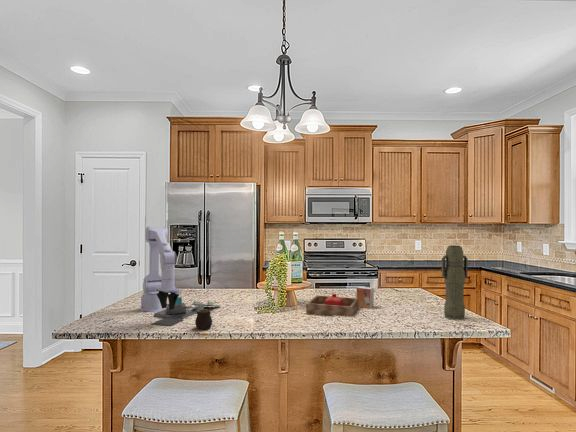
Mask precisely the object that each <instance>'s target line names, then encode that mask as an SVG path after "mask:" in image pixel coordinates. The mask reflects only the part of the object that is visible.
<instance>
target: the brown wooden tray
mask: <svg viewBox="0 0 576 432" xmlns="http://www.w3.org/2000/svg"><path fill="white" fill-rule="evenodd" d="M331 296H332V295H331ZM331 296H328V295H316V296H314V297H313V298H312V299H310V300H308V302H306V303H305V313H306V314H307V315H319V316H327V315H328V316H329V317H334V316H343V317H353V316H354V314H355V312H357V310H359V308H360V307H359V298H356V297H344V296H342V297H341V296H339V297H340V298H342V299H343V301H344V306H337V305H324V303H325V300H326V298H328V297H331Z"/></svg>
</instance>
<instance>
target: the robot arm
mask: <svg viewBox="0 0 576 432" xmlns="http://www.w3.org/2000/svg"><path fill="white" fill-rule="evenodd" d="M168 233H169V232H168V228H167V226H165V225H164V226H147V227H145V235H144V237H145V242H146V243H148V244H149V245H148V246H149V256H148V257H149V259H148V260H149V261H148V263H149V267H148V268H149V271H148V272H149V273H148V274H147V275H146V276H144V278H143V283H142V291H143V293H142V294H141V297H140V310H139V311H140V312H149V313H150V312H151V313H157V312H160V311H162V310H165V308H166V306H167V304H169V309H170V310H172V309H174V306H175V303H176V300H177V298H178V297H180V295H181V294H182V289H180V288H177V287H176V286H175V276H176V274H175V271H176V270H175V267H176V266H175V265H176V264H177V258H178V257H177V253H176V251H174V250H172V246H171V244H170V243H169V242H167V238H168V235H169V234H168ZM160 269H161V274H160ZM167 302H168V303H167Z"/></svg>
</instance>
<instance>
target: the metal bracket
mask: <svg viewBox="0 0 576 432" xmlns="http://www.w3.org/2000/svg"><path fill="white" fill-rule="evenodd" d="M195 305H200V308H196V309H195V310H196V311H198V310H200V309H205V308H204V307H212V306H213V307H222V306H221V305H217V304H215V305H214V301H210V300H207V303H206V304H205V303H203V302H201V301H196V300H194V301H193V303H190V304H189V306H195Z"/></svg>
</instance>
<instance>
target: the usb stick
mask: <svg viewBox="0 0 576 432" xmlns="http://www.w3.org/2000/svg"><path fill="white" fill-rule="evenodd" d="M182 298H183V297H182V296H178V298H177V300H176V303H175V306H178V305H183V303H184V302H182V301H183V299H182Z"/></svg>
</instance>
